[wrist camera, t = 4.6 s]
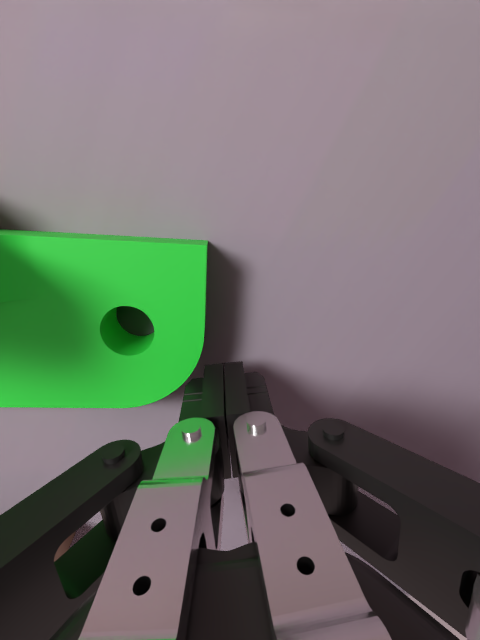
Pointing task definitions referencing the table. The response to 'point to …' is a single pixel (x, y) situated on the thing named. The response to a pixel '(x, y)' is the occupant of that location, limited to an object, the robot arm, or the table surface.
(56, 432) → the table surface
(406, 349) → the table surface
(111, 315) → the mechanical part
